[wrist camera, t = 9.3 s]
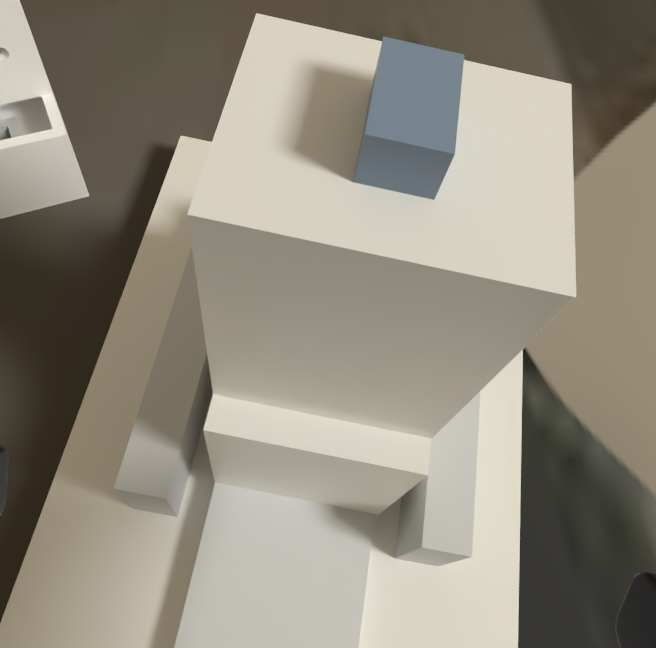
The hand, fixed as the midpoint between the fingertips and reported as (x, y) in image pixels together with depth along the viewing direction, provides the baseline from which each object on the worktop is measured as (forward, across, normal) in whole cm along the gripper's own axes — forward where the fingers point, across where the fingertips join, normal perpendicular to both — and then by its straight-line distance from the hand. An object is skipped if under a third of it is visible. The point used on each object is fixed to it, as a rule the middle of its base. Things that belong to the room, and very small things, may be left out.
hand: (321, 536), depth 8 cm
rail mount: (+10, 0, +3) cm, 11 cm away
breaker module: (+9, 0, +2) cm, 9 cm away
